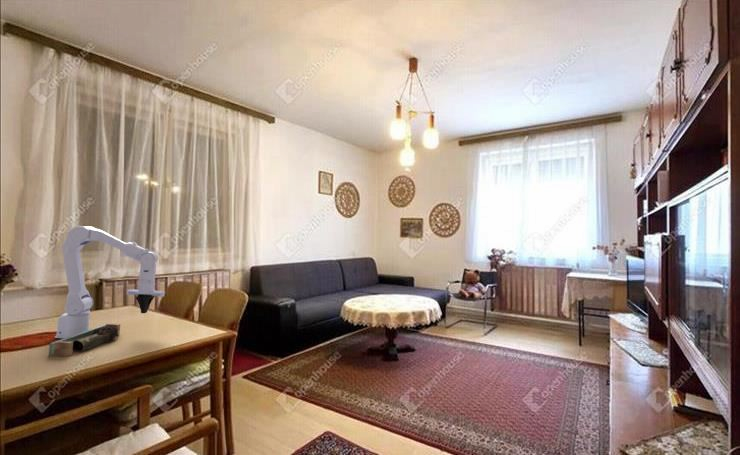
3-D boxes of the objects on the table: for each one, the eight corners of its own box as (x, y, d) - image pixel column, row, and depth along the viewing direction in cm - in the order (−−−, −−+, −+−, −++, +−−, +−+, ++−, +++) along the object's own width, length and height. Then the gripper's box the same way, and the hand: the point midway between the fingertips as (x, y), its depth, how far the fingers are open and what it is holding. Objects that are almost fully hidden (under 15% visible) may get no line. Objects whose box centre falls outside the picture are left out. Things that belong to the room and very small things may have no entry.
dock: (48, 355, 122) (49, 341, 122) (103, 333, 149) (104, 323, 149) (68, 356, 122) (69, 343, 122) (119, 334, 149) (120, 323, 149)
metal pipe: (82, 353, 126) (84, 337, 127) (64, 351, 127) (66, 335, 127) (120, 339, 144) (121, 325, 144) (104, 338, 145) (106, 323, 145)
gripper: (123, 280, 147) (120, 313, 146) (159, 282, 148) (156, 315, 147) (133, 278, 154) (130, 310, 153) (168, 280, 155) (165, 312, 154)
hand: (143, 312), depth 151 cm, fingers closed
